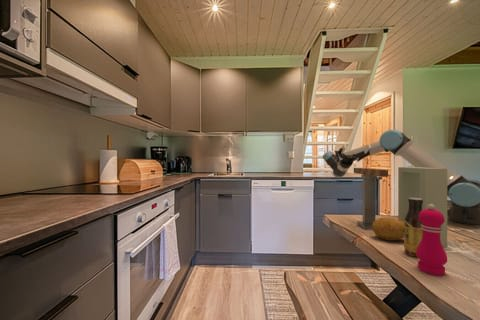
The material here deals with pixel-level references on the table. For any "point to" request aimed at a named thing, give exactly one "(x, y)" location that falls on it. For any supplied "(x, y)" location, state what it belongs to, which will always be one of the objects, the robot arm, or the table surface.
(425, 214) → the pepper mill
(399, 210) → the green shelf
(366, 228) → the ridge pillar
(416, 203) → the sauce bottle
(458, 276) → the table surface
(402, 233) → the potato
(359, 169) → the walnut bar
